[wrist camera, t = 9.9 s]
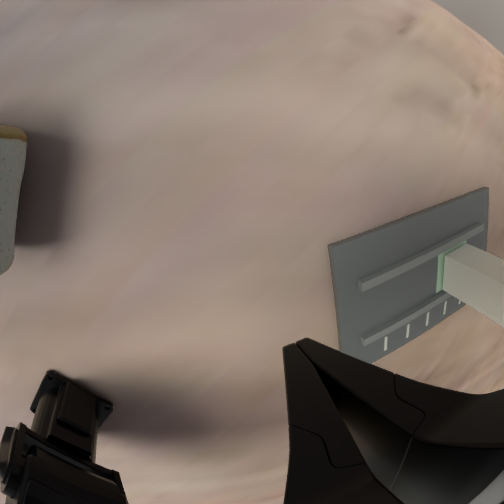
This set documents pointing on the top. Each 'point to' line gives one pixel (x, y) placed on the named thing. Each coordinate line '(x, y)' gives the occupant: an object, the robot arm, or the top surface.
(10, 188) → the ceramic mug
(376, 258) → the fader console
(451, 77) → the top surface
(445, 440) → the robot arm
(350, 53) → the top surface
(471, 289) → the fader knob
